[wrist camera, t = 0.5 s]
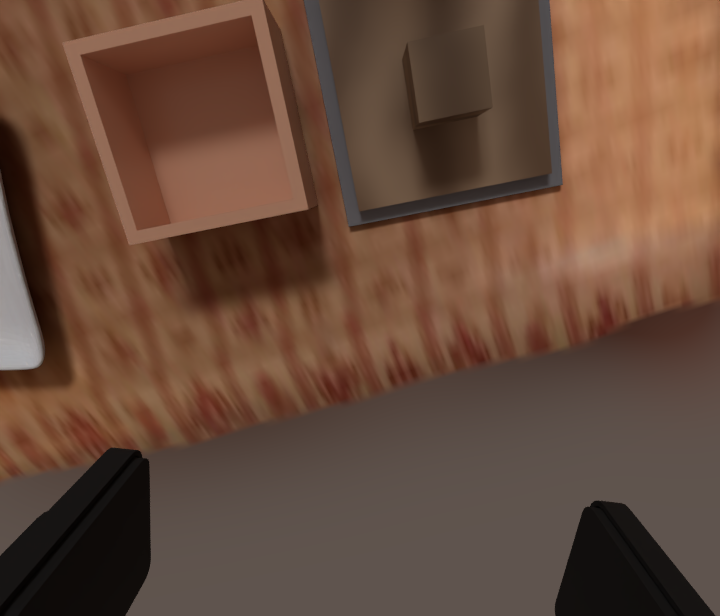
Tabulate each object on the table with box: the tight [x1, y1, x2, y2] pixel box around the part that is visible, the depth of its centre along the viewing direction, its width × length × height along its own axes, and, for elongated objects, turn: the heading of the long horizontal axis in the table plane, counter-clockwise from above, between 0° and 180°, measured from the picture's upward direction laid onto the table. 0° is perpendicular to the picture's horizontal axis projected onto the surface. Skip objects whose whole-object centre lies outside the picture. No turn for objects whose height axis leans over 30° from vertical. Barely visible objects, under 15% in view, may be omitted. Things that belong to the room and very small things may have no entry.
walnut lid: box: [319, 0, 552, 211], centre depth 29 cm, size 14×14×5 cm
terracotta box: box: [63, 0, 318, 245], centre depth 30 cm, size 12×12×6 cm
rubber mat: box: [304, 0, 563, 227], centre depth 32 cm, size 16×16×1 cm
